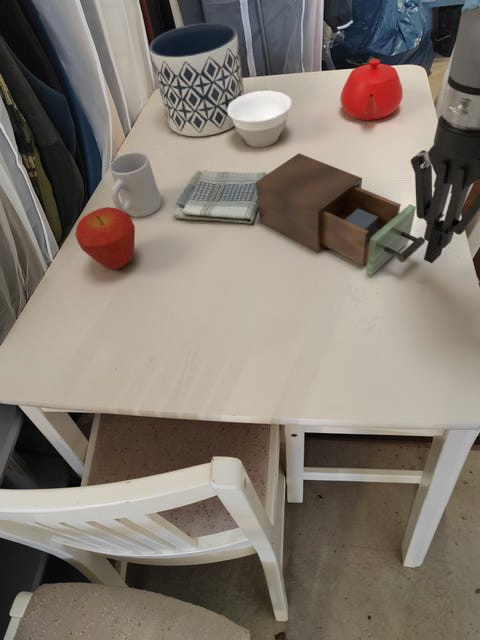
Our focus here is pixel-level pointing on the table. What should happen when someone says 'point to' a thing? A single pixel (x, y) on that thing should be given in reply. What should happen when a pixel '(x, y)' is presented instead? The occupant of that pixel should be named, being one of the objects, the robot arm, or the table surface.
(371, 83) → the teapot
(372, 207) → the drawer
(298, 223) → the cabinet
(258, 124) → the bowl
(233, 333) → the table surface
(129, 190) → the mug
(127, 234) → the apple
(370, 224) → the block
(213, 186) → the dish towel
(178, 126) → the planter
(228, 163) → the table surface
